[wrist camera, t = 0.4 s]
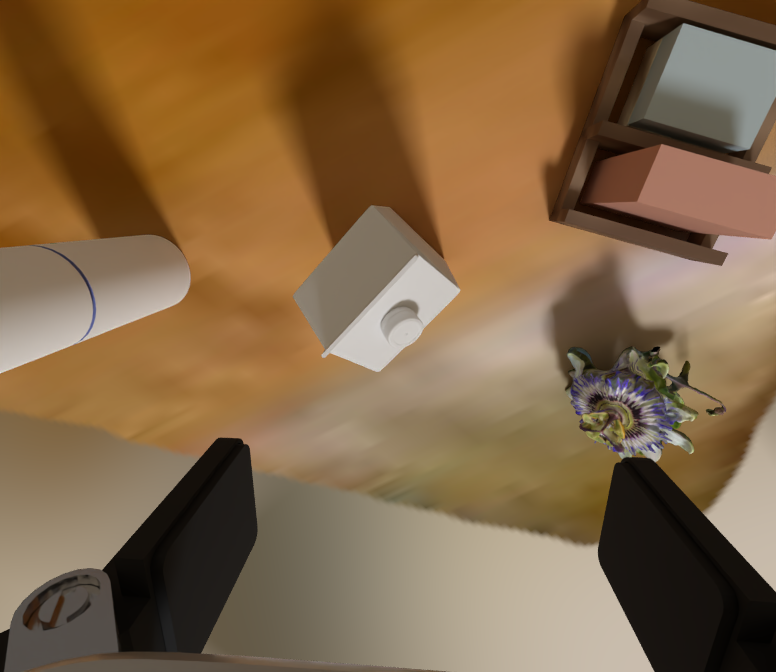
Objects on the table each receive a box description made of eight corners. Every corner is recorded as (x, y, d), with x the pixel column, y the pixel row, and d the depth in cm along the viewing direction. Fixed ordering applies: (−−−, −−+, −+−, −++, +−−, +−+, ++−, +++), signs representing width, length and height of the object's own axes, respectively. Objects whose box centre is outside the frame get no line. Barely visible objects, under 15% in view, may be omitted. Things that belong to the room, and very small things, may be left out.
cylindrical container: (188, 314, 42) (-119, 455, 18) (118, 299, 42) (-280, 418, 18) (193, 243, 40) (-147, 295, 16) (119, 227, 40) (-330, 254, 16)
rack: (624, 16, 32) (652, -10, 28) (786, 62, 32) (835, 42, 29) (549, 220, 37) (564, 221, 33) (690, 259, 37) (721, 265, 33)
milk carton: (337, 264, 39) (269, 311, 21) (389, 205, 37) (362, 202, 19) (393, 315, 40) (372, 401, 22) (445, 260, 39) (470, 306, 20)
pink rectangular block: (595, 161, 35) (661, 144, 26) (698, 190, 35) (801, 183, 26) (579, 203, 36) (636, 201, 27) (678, 231, 36) (771, 239, 27)
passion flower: (558, 369, 46) (535, 360, 36) (660, 322, 42) (667, 296, 32) (611, 469, 43) (603, 490, 32) (731, 428, 38) (764, 437, 28)
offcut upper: (662, 37, 31) (683, 23, 28) (766, 68, 31) (795, 56, 28) (627, 124, 33) (643, 118, 30) (725, 153, 33) (749, 149, 30)
